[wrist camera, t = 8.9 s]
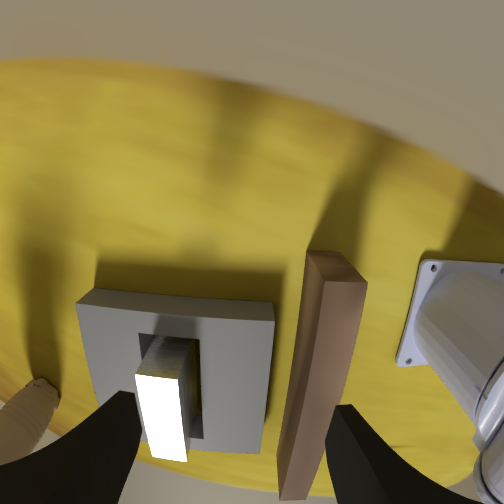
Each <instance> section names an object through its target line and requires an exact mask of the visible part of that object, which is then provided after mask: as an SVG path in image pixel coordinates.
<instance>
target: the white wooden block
mask: <svg viewBox="0 0 504 504" xmlns="http://www.w3.org/2000/svg"><path fill="white" fill-rule="evenodd" d="M135 377H136V383H137V388H138V393H139V399H140V404H141V409H142V413H143V418H144V423H145V427H146V431H147V436H148V440H149V444H150V448H151V452H152V456H153V457H159V458H165V459H171V460H178V461H185V462H187V457H188V453H189V448H190V443H191V438H192V433H193V428H194V424H195V419H196V414H197V409H198V399H197V379H196V354H195V339H191V338H181V337H171V336H161V335H156V336H155V338H154V339H153V341H152V343H151V345H150V347H149V349H148V351H147V352H146V354H145V356H144V358H143V360H142V362H141V364H140V366H139V368H138V370H137V372H136V373H135Z"/></svg>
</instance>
